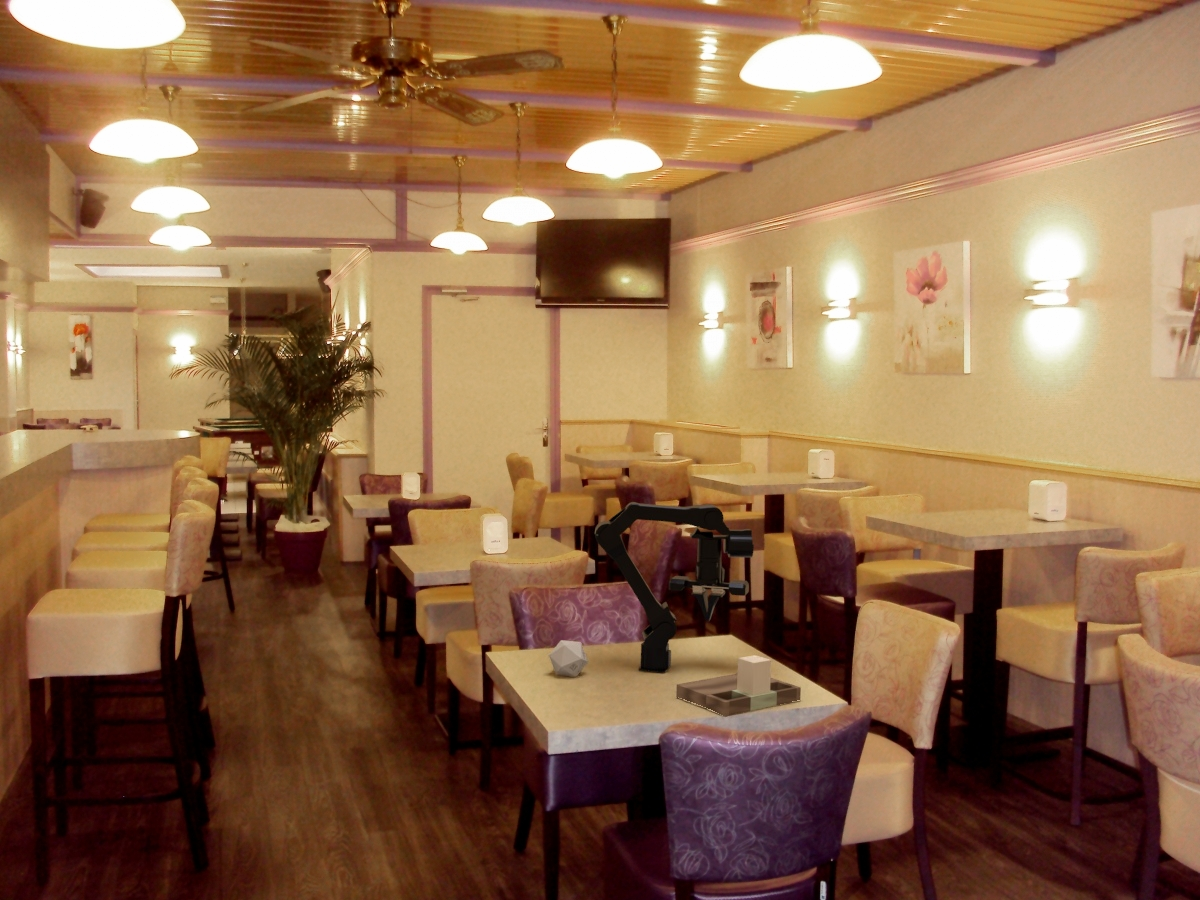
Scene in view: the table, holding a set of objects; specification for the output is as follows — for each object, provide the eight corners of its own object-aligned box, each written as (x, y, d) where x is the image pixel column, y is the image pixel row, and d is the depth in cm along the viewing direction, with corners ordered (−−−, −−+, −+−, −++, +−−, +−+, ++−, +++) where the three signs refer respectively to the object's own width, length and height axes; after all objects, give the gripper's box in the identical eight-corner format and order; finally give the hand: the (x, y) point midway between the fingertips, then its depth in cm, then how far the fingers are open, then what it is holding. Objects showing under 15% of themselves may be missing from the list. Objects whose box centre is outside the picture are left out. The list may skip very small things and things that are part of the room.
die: (563, 684, 252) (588, 650, 252) (536, 661, 255) (562, 628, 256) (574, 688, 259) (599, 655, 260) (549, 665, 263) (573, 634, 263)
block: (737, 689, 236) (737, 658, 236) (754, 686, 239) (754, 655, 238) (752, 695, 232) (753, 663, 232) (770, 692, 235) (771, 660, 234)
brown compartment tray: (676, 697, 240) (676, 684, 240) (750, 683, 252) (750, 671, 252) (724, 716, 227) (725, 702, 226) (800, 700, 239) (800, 687, 239)
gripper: (753, 554, 268) (751, 617, 269) (679, 550, 273) (677, 611, 274) (745, 561, 257) (744, 626, 258) (668, 556, 263) (667, 620, 263)
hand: (707, 620), depth 264 cm, fingers closed
